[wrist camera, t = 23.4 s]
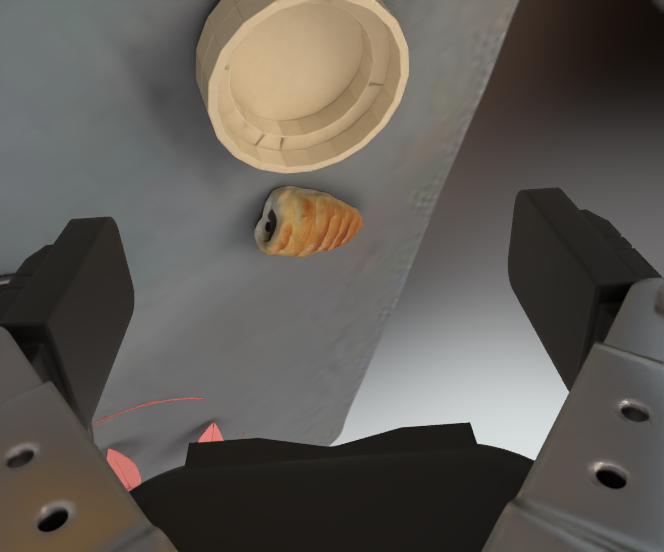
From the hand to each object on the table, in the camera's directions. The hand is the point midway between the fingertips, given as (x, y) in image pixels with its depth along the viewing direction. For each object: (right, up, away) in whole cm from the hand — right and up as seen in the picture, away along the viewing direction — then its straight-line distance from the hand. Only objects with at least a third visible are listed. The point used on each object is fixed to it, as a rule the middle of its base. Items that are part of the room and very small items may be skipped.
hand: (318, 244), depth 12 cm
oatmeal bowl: (-2, +14, +29) cm, 32 cm away
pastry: (-3, +5, +41) cm, 41 cm away
